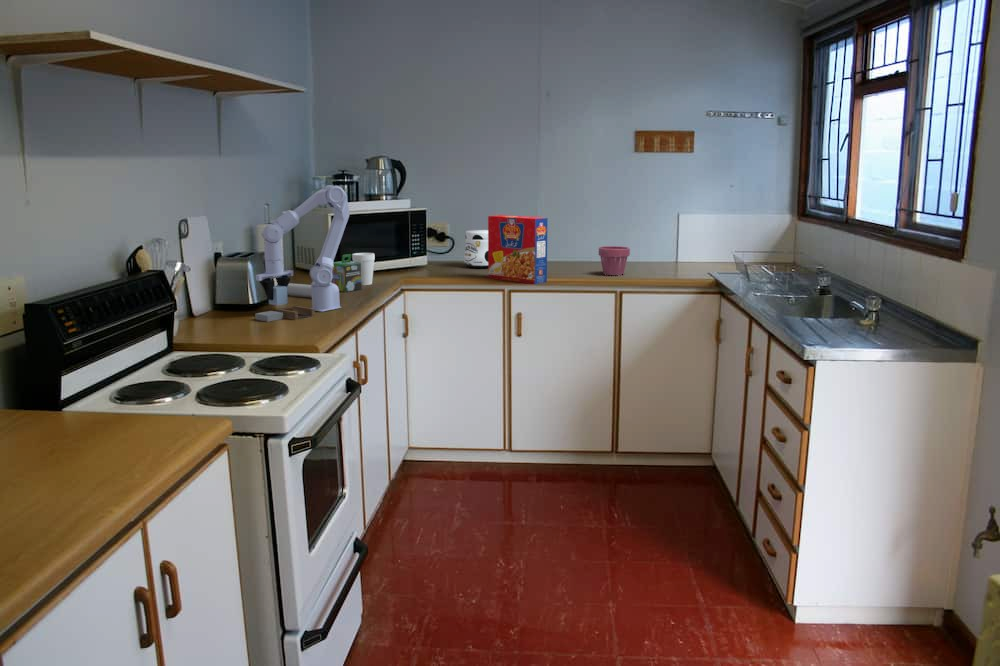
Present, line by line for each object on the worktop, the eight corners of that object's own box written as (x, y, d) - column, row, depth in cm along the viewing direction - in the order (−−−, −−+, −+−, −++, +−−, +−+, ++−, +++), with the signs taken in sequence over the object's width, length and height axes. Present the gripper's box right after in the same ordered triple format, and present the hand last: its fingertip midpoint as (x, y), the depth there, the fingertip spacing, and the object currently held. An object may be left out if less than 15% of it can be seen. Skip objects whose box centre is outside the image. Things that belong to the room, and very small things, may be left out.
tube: (271, 285, 314) (319, 289, 303) (279, 279, 318) (328, 283, 307) (275, 297, 317) (323, 301, 305) (283, 291, 321) (331, 295, 309)
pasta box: (488, 277, 360) (488, 216, 354) (500, 276, 366) (500, 215, 360) (534, 284, 341) (535, 218, 336) (546, 282, 347) (547, 218, 341)
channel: (295, 312, 277) (295, 305, 277) (314, 315, 272) (314, 308, 271) (276, 316, 271) (275, 309, 270) (295, 319, 265) (294, 312, 264)
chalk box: (348, 287, 333) (346, 252, 330) (362, 289, 327) (361, 254, 324) (330, 290, 326) (329, 254, 323) (345, 292, 320) (343, 256, 317)
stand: (271, 316, 271) (270, 310, 270) (283, 318, 267) (282, 312, 266) (255, 319, 266) (255, 313, 265) (267, 321, 262) (267, 315, 261)
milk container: (459, 268, 392) (458, 232, 388) (470, 264, 408) (470, 229, 404) (492, 270, 387) (492, 233, 383) (502, 265, 403) (502, 230, 399)
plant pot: (621, 272, 378) (622, 245, 376) (633, 276, 365) (634, 248, 362) (593, 273, 375) (594, 246, 372) (604, 277, 361) (605, 249, 359)
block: (279, 302, 279) (278, 285, 277) (287, 303, 276) (286, 286, 275) (268, 304, 275) (267, 286, 274) (277, 305, 273) (276, 288, 271)
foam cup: (379, 282, 346) (378, 253, 343) (369, 286, 337) (368, 255, 334) (359, 281, 349) (358, 252, 346) (349, 284, 340) (348, 254, 337)
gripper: (283, 256, 281) (285, 294, 284) (248, 261, 270) (251, 300, 272) (296, 258, 277) (298, 296, 280) (261, 262, 265) (264, 302, 268)
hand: (276, 298), depth 276 cm, fingers closed on block, 4 cm apart
